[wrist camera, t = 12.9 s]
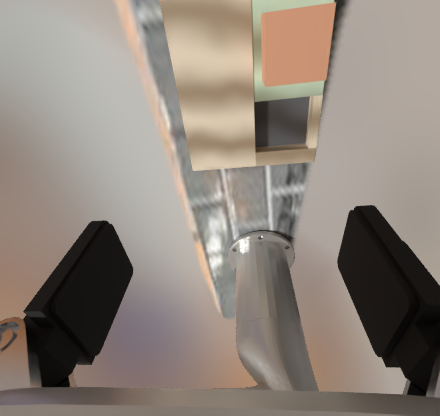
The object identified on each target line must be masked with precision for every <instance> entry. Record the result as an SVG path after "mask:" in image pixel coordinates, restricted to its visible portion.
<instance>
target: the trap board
mask: <svg viewBox="0 0 440 416" xmlns="http://www.w3.org/2000/svg"><path fill="white" fill-rule="evenodd" d="M327 3H334V0H160V4H161V9H162V15H163V20H164V25H165V30H166V35H167V40H168V45H169V50H170V56H171V61H172V66H173V71H174V76H175V81H176V86H177V91H178V97H179V102H180V107H181V112H182V117H183V122H184V127H185V133H186V138H187V143H188V148H189V153H190V158H191V163H192V168H193V171H199V170H212V169H225V168H238V167H251V166H264V165H277V164H290V163H303V162H315V155H316V147H317V139H318V131H319V123H320V115H321V107H322V98H323V88H324V81H316V82H307V83H298V84H289V85H280V86H271V87H265V86H264V84H263V82H262V53H261V14H263V13H265V12H272V11H279V10H286V9H293V8H300V7H307V6H314V5H321V4H327Z"/></svg>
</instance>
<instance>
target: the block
mask: <svg viewBox="0 0 440 416" xmlns="http://www.w3.org/2000/svg"><path fill="white" fill-rule="evenodd" d="M335 7H336V2H334V3H327V4H321V5H314V6H307V7H300V8H293V9H286V10H279V11H272V12H265V13H263V14H261V53H262V82H263V84H264V86H265V87H271V86H280V85H289V84H298V83H307V82H316V81H324V80H326V79H327V71H328V63H329V55H330V47H331V39H332V31H333V23H334V15H335Z"/></svg>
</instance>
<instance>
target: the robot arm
mask: <svg viewBox="0 0 440 416" xmlns="http://www.w3.org/2000/svg"><path fill="white" fill-rule="evenodd" d="M294 259H295V253H294V249H293V246H292V244H291V243H290V242H289V241H288V240H287V239H286V238H285V237H283V236H281V235H279V234H277V233H273V232H268V231H257V232H251V233H248V234H245V235H243V236H241V237H239V238H238V239H236V240H235V241H234V242H233V243H232V244H231V246H230V248H229V251H228V262H229V265H230V267H231V268H232V269H233V270H234V271H235V272H236V347H237V352H238V355H239V358H240V360H241V362H242V364H243V366H244V367H245V369H246V370H247V371H248V372H249V374H250V375H251V376H252V378H253V379H254V380H255V381H256V382H257V384H258V385H256V386H254V387H246V388H213V389H174V388H173V389H172V388H104V387H77V386H76V382H75V377H74V373H73V370H74V368H75V366H76V364H78V365H92V362H93V360H94V358H95V356H97V355H98V354H99V353H100V351H101V349H102V347H103V345H104V342H105V340H106V337H107V335H108V332H109V330H110V328H111V325H112V323H113V320H114V318H115V316H116V313H117V311H118V309H119V306H120V304H121V301H122V299H123V297H124V294H125V292H126V289H127V287H128V284H129V282H130V280H131V277H132V275H133V267H132V264H131V262H130V260H129V258H128V256H127V254H126V252H125V250H124V248H123V246H122V243H121V242H120V239H119V237H118V235H117V233H116V231H115V229H114V227H113V225H112V224H109V222H107V221H92V222H90V223H89V224H88V226H87V227H86V228H85V230H84V231H83V233H82V234H81V235H80V236H79V238H78V239H77V240H76V242H75V243H74V244H73V246H72V247H71V249H70V250H69V251H68V252H67V254H66V255H65V256H64V258H63V259H62V261H61V262H60V263H59V265H58V266H57V267H56V268H55V270H54V271H53V272H52V274H51V275H50V277H49V278H48V279H47V281H46V282H45V283H44V285H43V286H42V287H41V288H40V290H39V291H38V292H37V294H36V295H35V297H34V298H33V299H32V301H31V302H30V303H29V305H28V306H27V307H26V309H25V310H24V313H25V314H26V316H25V318H24V319H21V318H19V317H12V318H7V319H4V320H2V321H0V416H440V285H439V284H438V283H437V282H436V281H435V279H434V278H433V277H432V275H431V274H430V273H429V272H428V271H427V269H426V268H425V267H424V265H423V264H422V263H421V261H420V260H419V259H418V258H417V257H416V255H415V254H414V253H413V251H412V250H411V249H410V248H409V246H408V245H407V244H406V243H405V242H404V241H402V240H401V239H400V237H399V236H398V235H397V234H396V232H395V231H394V230H393V228H392V227H391V226H390V225H389V223H388V222H387V221H386V220H385V218H384V217H383V216H382V214H381V213H380V212H379V210H377V208H376V207H375V206H373V205H370V206H369V205H368V206H356V207H355V208H354V210H351V211H350V212H349V215H348V219H347V223H346V227H345V231H344V235H343V240H342V244H341V248H340V252H339V256H338V261H337V263H338V268H339V270H340V273H341V275H342V278H343V280H344V282H345V285H346V287H347V289H348V292H349V294H350V296H351V299H352V301H353V303H354V306H355V308H356V310H357V313H358V315H359V317H360V320H361V322H362V324H363V327H364V329H365V331H366V333H367V336H368V338H369V340H370V343H371V345H372V348H373V350H374V352H375V354H376V355H377V356H378V357H382V359H383V361H384V364H385V366H386V367H400V368H401V370H402V372H403V374H404V376H405V378H407V381H406V385H405V388H404V391H403V394H402V395H401V394H377V393H353V392H351V393H350V392H319V390H318V386H317V383H316V380H315V377H314V374H313V370H312V366H311V363H310V359H309V354H308V351H307V346H306V342H305V337H304V333H303V328H302V324H301V320H300V315H299V311H298V306H297V302H296V297H295V292H294V289H293V283H292V279H291V275H290V270H289V268H290V267H291V266H292V264H293V262H294Z"/></svg>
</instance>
